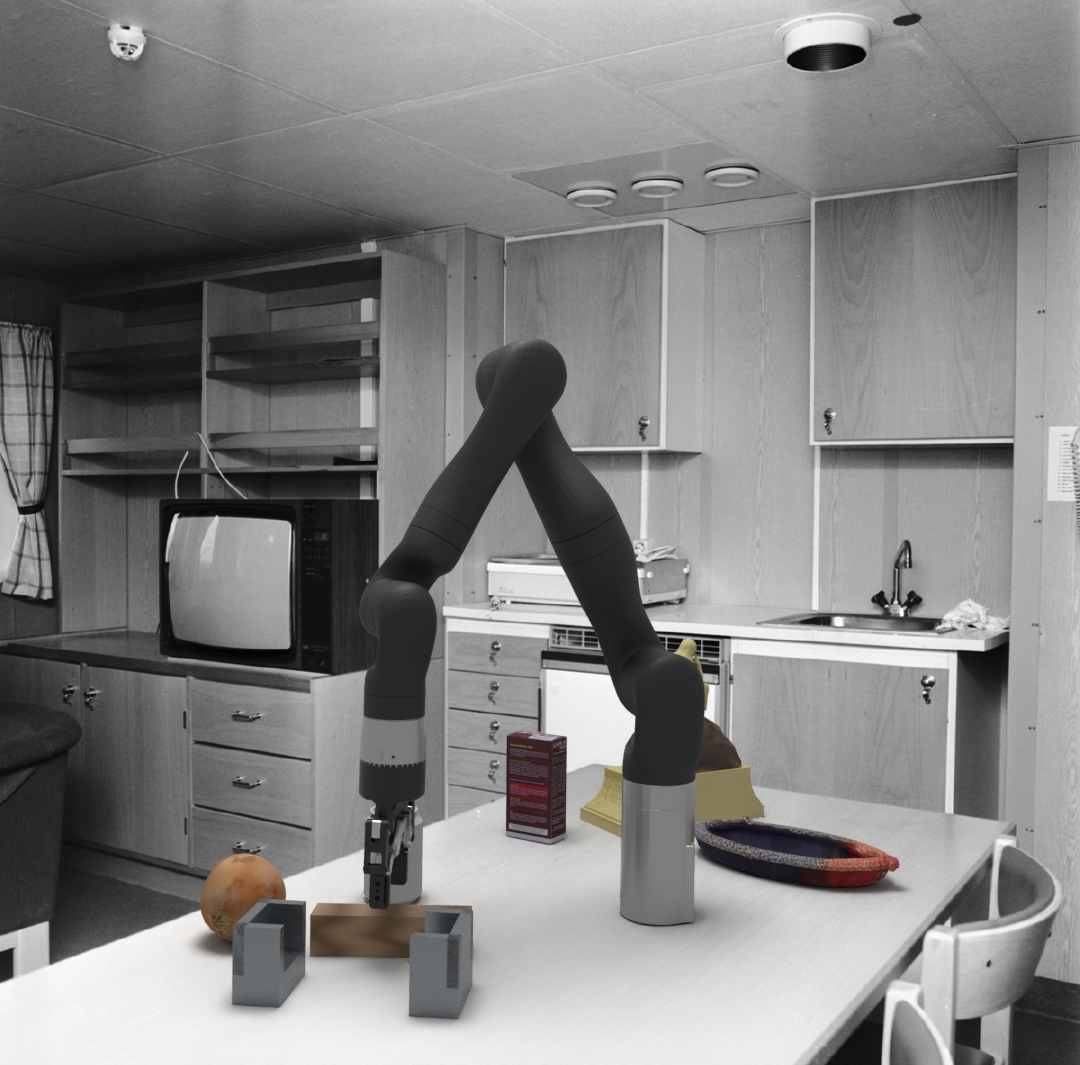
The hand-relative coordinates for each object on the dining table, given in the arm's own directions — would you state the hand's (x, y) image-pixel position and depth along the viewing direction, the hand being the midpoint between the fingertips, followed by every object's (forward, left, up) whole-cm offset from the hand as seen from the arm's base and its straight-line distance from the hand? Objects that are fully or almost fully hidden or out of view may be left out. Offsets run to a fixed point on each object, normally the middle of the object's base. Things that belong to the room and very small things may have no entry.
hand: (388, 895), depth 133 cm
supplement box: (-11, -48, -7) cm, 50 cm away
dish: (-49, -38, -7) cm, 63 cm away
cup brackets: (+1, +12, -6) cm, 14 cm away
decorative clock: (-33, -63, -7) cm, 71 cm away
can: (+4, -17, -7) cm, 19 cm away
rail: (0, 0, -7) cm, 7 cm away
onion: (+18, -1, -7) cm, 19 cm away
